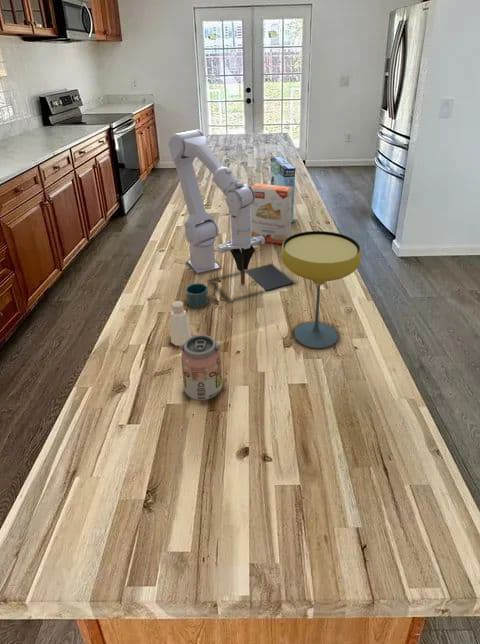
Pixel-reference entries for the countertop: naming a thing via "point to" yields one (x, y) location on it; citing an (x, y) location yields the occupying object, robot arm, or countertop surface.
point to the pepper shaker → (179, 324)
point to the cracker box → (271, 212)
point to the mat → (269, 277)
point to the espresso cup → (197, 295)
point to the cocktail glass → (320, 273)
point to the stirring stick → (243, 272)
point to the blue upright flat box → (283, 176)
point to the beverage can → (201, 367)
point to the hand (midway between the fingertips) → (242, 269)
